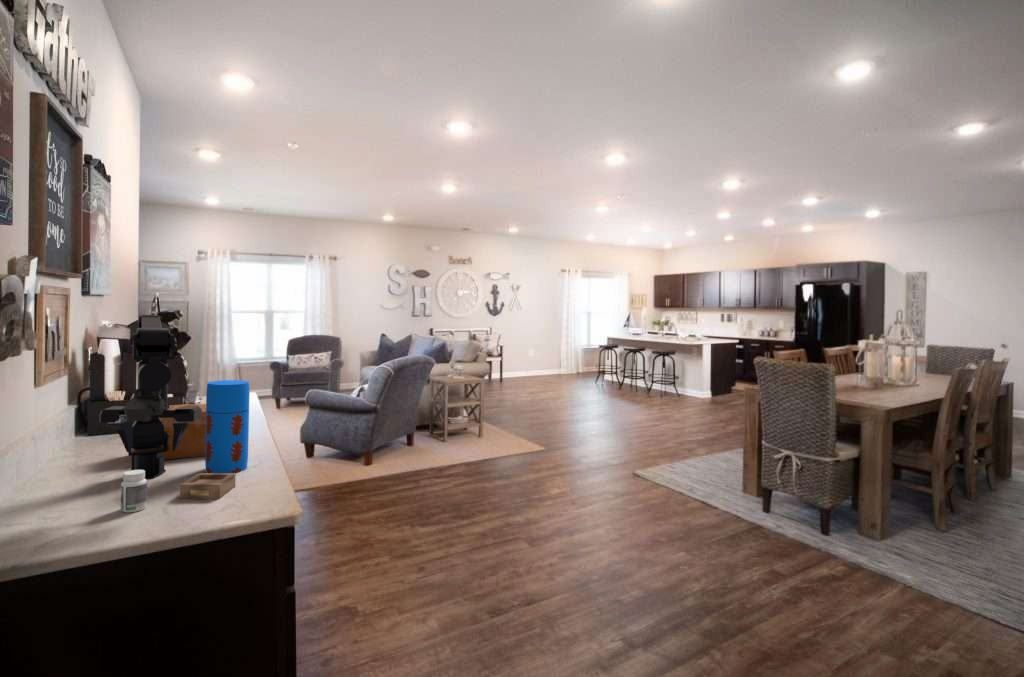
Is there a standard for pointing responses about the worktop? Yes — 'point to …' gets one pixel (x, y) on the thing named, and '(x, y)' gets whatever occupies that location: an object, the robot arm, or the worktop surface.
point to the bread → (186, 436)
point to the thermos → (227, 426)
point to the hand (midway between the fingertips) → (151, 451)
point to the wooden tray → (207, 486)
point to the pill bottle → (133, 491)
